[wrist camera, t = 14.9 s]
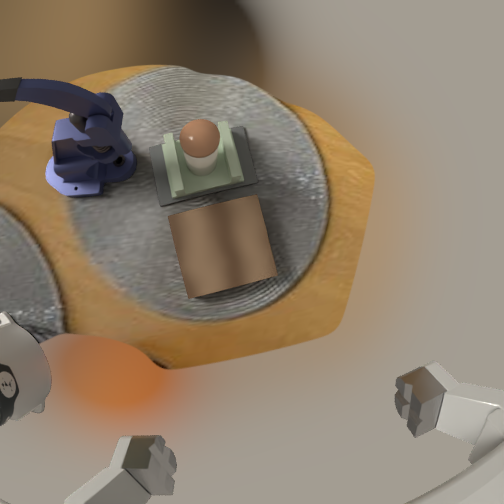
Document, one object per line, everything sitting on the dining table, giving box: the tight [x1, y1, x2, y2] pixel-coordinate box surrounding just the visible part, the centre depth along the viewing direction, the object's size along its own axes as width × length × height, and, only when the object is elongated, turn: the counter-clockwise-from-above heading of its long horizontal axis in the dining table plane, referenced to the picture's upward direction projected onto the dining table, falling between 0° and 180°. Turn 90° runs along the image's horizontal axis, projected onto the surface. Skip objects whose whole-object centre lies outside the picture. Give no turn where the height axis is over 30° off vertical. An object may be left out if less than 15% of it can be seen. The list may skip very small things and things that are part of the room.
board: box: [168, 194, 278, 299], centre depth 39 cm, size 12×11×2 cm
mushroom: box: [180, 119, 220, 176], centre depth 34 cm, size 4×4×9 cm
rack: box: [162, 121, 244, 199], centre depth 37 cm, size 10×8×4 cm
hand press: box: [0, 78, 137, 197], centre depth 24 cm, size 19×9×28 cm, turn 91°
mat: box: [149, 126, 258, 206], centre depth 39 cm, size 14×9×1 cm, turn 104°
